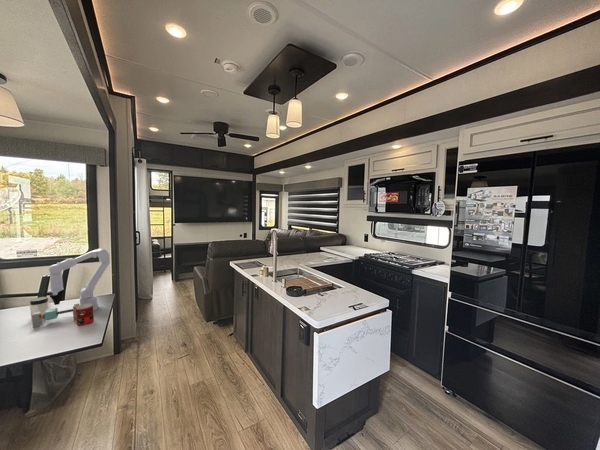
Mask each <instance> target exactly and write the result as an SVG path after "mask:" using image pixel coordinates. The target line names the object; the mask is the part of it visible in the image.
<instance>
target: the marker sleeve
mask: <svg viewBox="0 0 600 450" xmlns="http://www.w3.org/2000/svg"><path fill="white" fill-rule="evenodd" d="M56 312H59V309H58V307H56V308H51V309H50V308H49V310H46V311H45V317H44V321H45V322H46V321H51V320H56V319H57V318H58V317H59V314H57V313H56Z"/></svg>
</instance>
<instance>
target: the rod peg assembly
mask: <svg viewBox="0 0 600 450" xmlns="http://www.w3.org/2000/svg"><path fill="white" fill-rule="evenodd" d="M77 306H80V302H79V303H74V304H73V307H72V308H70V309H65V310H60V311H59V310H58V312H56V313H57V314H58V315H61V314H67V313H72V314H73V315H72V316H73V321H77V318H76V307H77ZM43 318H44V319H45V314H41V311H38V312H34V313H33V314H32V319H31V320H32V328H33V329H35V328H39V327H41V326H42V324H43V320H42V319H43Z"/></svg>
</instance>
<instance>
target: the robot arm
mask: <svg viewBox="0 0 600 450" xmlns="http://www.w3.org/2000/svg"><path fill="white" fill-rule="evenodd" d="M90 258H94V259H95V258H98V260H99V261H100V263H99V265H98V266H97V267H96V269H95V271H94V272H93V274H92V276H91V277H90V278H89V280H88V281H87V283H86V284H85V285H84V286H83V287H81V288H80V289H79V294H80V297H79V305H83V304H93V311H97V310H98V307H99V303H98V295H94V290H95V287H96V285H97V284H98V282H99V281H100V279H101V277H102V276H103V274H104V273H105V271H106V270H107V268H108V266H109V265H110V264H111V257H110V253H109V252H108V250H107V249H105V248H103V247H99V248H97V249H94V250H91V251H88V252H86V253H83V254H82V255H80V256H77V257H75V258H71V257H70V258H65V259H64V260H63V261H60V262H59V261H58V262H56V264H51V265H50V266H49V267H48V268H49V269H48V271H49V282H50V289H48V292H51V293H52V294H50V295H49V297H50V298H51V300H52V302H53V304H54V306H56V305H57V306H58V305H60V302H61V301H62V300H63V296H64V295H63V294H64V292H65V288H64V282H63V274H62V272H63V271H65V270H68V269H70V268H73V267H75V266H76V265H77V264H78V263H80V262H83V261H86V260H87V259H90Z"/></svg>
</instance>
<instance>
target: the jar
mask: <svg viewBox="0 0 600 450" xmlns="http://www.w3.org/2000/svg"><path fill="white" fill-rule="evenodd" d="M49 302H50V301H49V297H48V296H38V297H36V298H32V299H30V300H29V308H30V319H31V320H32V314H33V313H34V312H38V311H41V314H45V311H46V310H49V309H50V303H49Z"/></svg>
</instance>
